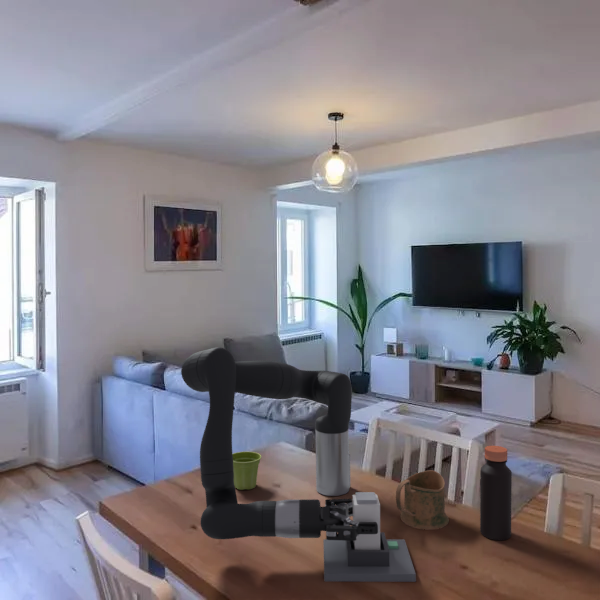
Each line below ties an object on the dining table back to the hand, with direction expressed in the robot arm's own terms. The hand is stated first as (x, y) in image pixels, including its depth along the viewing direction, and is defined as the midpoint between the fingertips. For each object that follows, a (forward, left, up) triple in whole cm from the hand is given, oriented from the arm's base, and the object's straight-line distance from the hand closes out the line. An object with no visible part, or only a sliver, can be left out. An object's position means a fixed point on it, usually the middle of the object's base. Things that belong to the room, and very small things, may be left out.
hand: (375, 518), depth 115 cm
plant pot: (-15, -51, -10) cm, 54 cm away
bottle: (-27, +16, -10) cm, 33 cm away
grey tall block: (+1, -2, -8) cm, 8 cm away
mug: (-22, -1, -10) cm, 24 cm away
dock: (+1, -2, -10) cm, 10 cm away
